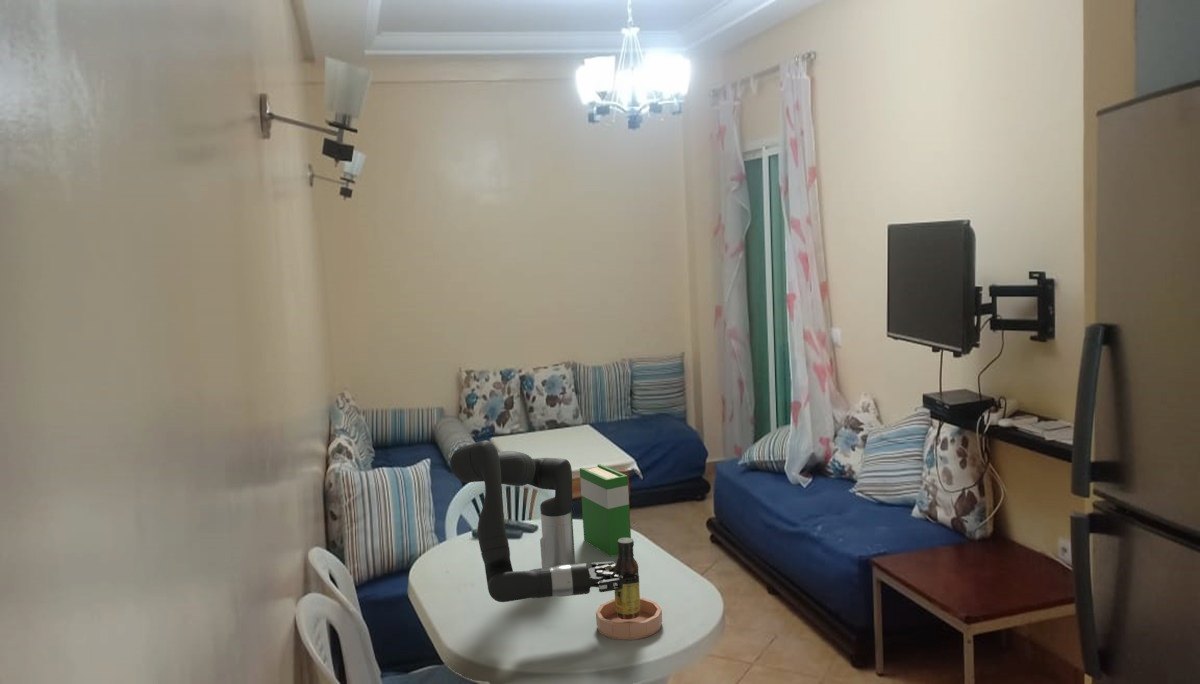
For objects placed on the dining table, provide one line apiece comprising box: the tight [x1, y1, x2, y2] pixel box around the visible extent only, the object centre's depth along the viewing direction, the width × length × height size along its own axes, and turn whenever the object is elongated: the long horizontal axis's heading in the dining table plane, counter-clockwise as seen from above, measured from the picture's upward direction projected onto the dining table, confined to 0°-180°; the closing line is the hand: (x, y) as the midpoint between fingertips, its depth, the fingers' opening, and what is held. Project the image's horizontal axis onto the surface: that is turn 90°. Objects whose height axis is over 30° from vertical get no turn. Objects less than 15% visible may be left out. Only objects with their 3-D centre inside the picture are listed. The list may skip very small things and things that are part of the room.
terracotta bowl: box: [595, 597, 663, 641], centre depth 226 cm, size 16×16×4 cm
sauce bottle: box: [614, 537, 641, 619], centre depth 225 cm, size 7×6×20 cm
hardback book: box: [579, 463, 632, 557], centre depth 283 cm, size 18×7×24 cm, turn 28°
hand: (635, 572), depth 225 cm, fingers closed on sauce bottle, 6 cm apart
